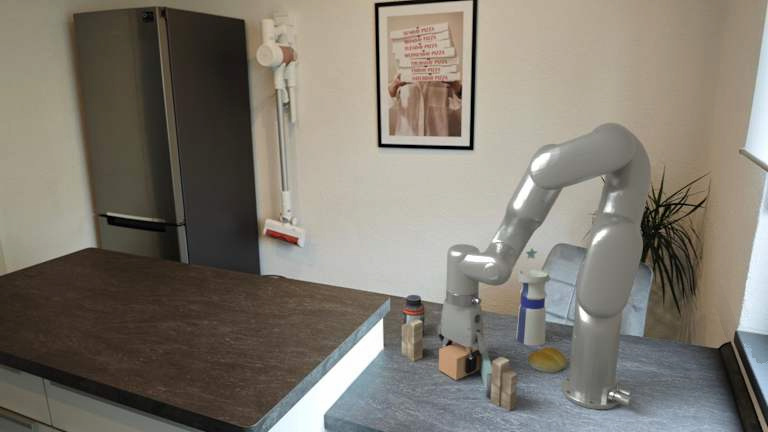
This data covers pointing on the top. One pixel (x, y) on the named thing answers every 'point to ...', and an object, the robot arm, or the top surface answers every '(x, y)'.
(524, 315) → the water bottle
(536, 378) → the top surface
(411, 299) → the supplement bottle
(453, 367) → the block
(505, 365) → the wooden block fence
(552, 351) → the bread roll
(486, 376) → the pale green flat bar
